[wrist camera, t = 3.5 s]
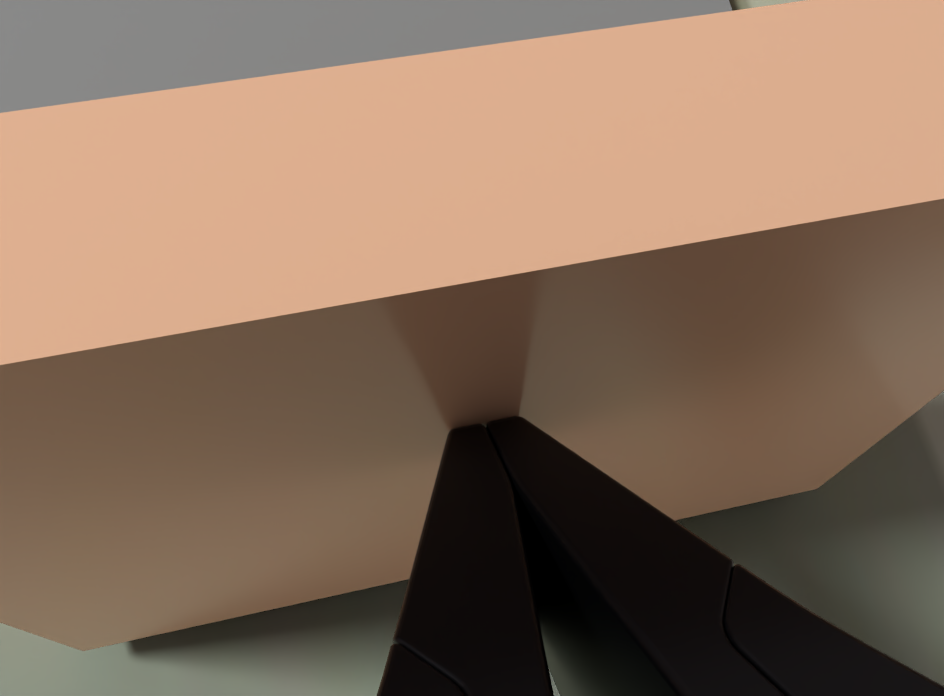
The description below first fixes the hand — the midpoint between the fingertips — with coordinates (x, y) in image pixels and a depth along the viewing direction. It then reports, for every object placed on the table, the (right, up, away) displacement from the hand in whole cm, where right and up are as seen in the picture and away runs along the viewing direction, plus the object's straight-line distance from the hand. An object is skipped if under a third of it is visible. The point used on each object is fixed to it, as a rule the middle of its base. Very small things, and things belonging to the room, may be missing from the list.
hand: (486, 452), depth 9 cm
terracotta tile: (0, -2, +6) cm, 7 cm away
